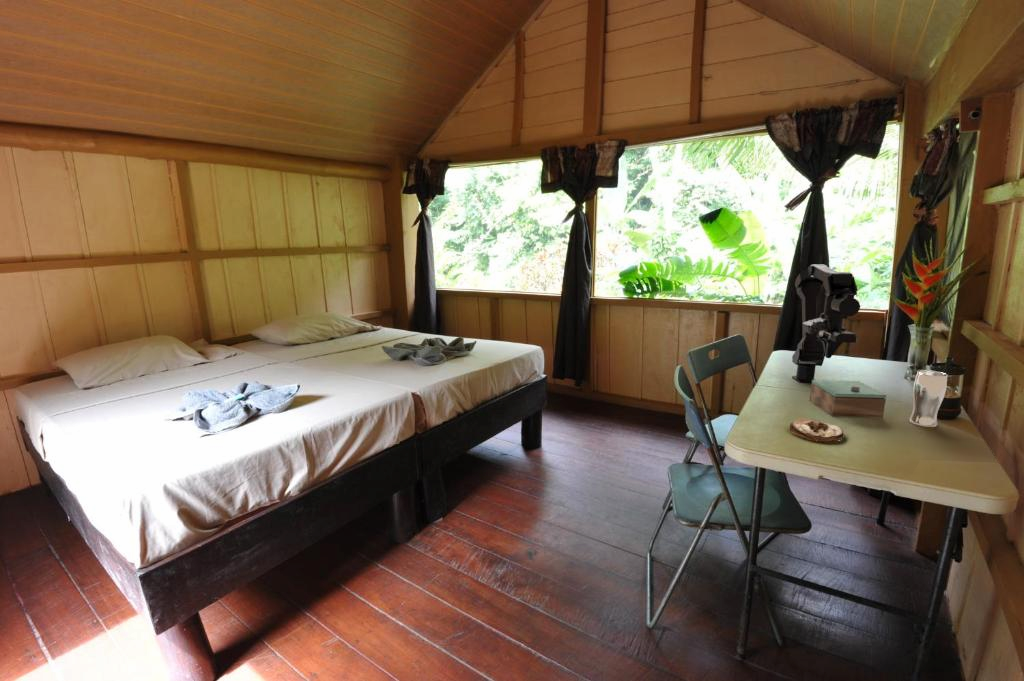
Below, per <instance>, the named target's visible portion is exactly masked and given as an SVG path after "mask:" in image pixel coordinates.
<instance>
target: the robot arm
mask: <svg viewBox="0 0 1024 681" xmlns="http://www.w3.org/2000/svg"><path fill="white" fill-rule="evenodd" d="M794 287H795V288H796V295H797V296H798V297H799V298H800V300H801V322H802V324H801V325H802V326H801V328H802V338H801V340H800V341H799V343H798V344H797V349H796V350H795V351H794V353H793V355H792V359H791V362H792V363H793V365H796V368H797V369H796V373H795V374H796V375H792V376H791V378H792V379H794V380H796V381H797V382H799V383H812V380H816V379H815V374H816V367H818V366H819V367H822V366H823V364H824V361H825V358H826V359H831V358H832V357H833V355H834V354H835V353H836V351H837V350H838V349H839V347H840V346H841V345H842V344H843V343H846V344H847V343H851V344H853V343H855V344H856V343H858V335H857V334H856V333H854V332H851V331H850V330H849V331H846V330H847V329H846V327H844V321H845V320H846V319H848V317H853V316H855V315H857V314H858V313H859V311H860V309H861V305H860V302H859V301H858V299H857V298H855V296H857V294H858V286H857V283H856V280H855V277H854V276H853V274H852V272H849V271H848V272H845V271H836V270H834V269H833V268H830V267H828V265H826V264H818V263H817V264H813V263H812V264H810V265H809V266H808V267H807V269H804V270H803V271H801V272H799V273H798V275H797V277H796V279H795V281H794ZM823 287H824V289H825V293H824V295H825V300H824V301H825V302H824V306H823V307H824V308H823V312H821V313H820V314H819V317H818V297H819V295H820V294H821V292H822V291H823Z"/></svg>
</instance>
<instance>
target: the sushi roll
mask: <svg viewBox="0 0 1024 681" xmlns="http://www.w3.org/2000/svg"><path fill="white" fill-rule="evenodd" d="M790 430H791V431H792V432H793V433H795V434H797V435H799V436H802V437H804V438H807V439H806V440H807V441H812V440H817V441H816V442H818V441H825V442H824V443H826V442H834V443H836V442H835V441H838V440H841V439H842V440H843V436H844V431H843V429H842V428H841V427H839V426H838V425H835V424H832V423H829V422H824V421H821V420H816V419H811V418H805V417H803V418H798V419H795V420H794V421H792V423H790V425H789V431H790ZM791 431H790V432H791ZM792 432H791V433H792ZM793 433H792V434H793ZM795 434H794V435H795ZM797 435H796V436H797ZM799 436H798V437H799ZM804 438H803V439H804ZM809 439H810V440H809Z"/></svg>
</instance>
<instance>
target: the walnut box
mask: <svg viewBox="0 0 1024 681" xmlns="http://www.w3.org/2000/svg"><path fill="white" fill-rule="evenodd" d="M808 401H809V402H810V403H812V404H813V405H814V406H816V407H817V408H819V409H820V410H822V411H823V412H825V413H826V414H828V415H829V416H830V417H832V418H833V417H834V418H855V419H856V418H857V419H859V418H860V419H861V418H862V419H863V418H864V419H865V418H866V419H883V418H884V412H885V407H886V401H887V400H886V398H865V397H835V396H833V395H831V394H830V393H828V392H826V391H825V390H823V389H821V388H820V387H818V386H816V385H814V384H813V383H812V382H811V385H810V394H809V400H808Z"/></svg>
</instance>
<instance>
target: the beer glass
mask: <svg viewBox="0 0 1024 681" xmlns="http://www.w3.org/2000/svg"><path fill="white" fill-rule="evenodd" d="M916 372H917V373H916V375H915V378H914V382H913V389H912V396H913V397H912V399H913V400H912V401H913V403H912V404H913V408H912V412H911V415H910V417H909V422H910V423H911V424H914V425H916V426H920V427H924V428H936V427H937V426H938V420H937V419H938V417H937V416H938V411H939V409H940V407H941V405H942V404H943V403H942V402H943V401H944V398H945V396H946V391H947V387H948V386H947V384H948V374H947V373H945V372H942V371H936V370H929V369H919V370H917V371H916Z"/></svg>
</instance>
